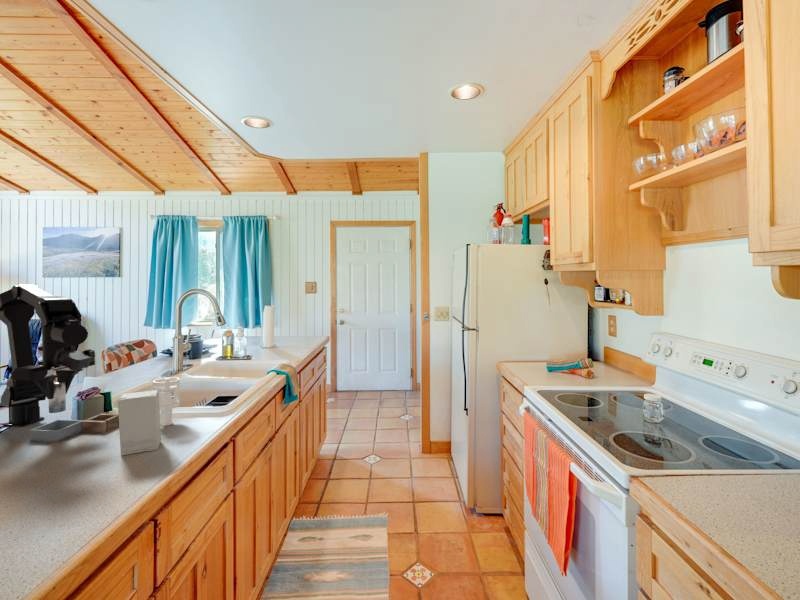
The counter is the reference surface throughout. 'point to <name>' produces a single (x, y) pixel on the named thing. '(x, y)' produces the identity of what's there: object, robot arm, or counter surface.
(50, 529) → the counter surface
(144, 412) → the skincare box
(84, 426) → the socket block
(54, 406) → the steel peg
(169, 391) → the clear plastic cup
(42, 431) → the tray
